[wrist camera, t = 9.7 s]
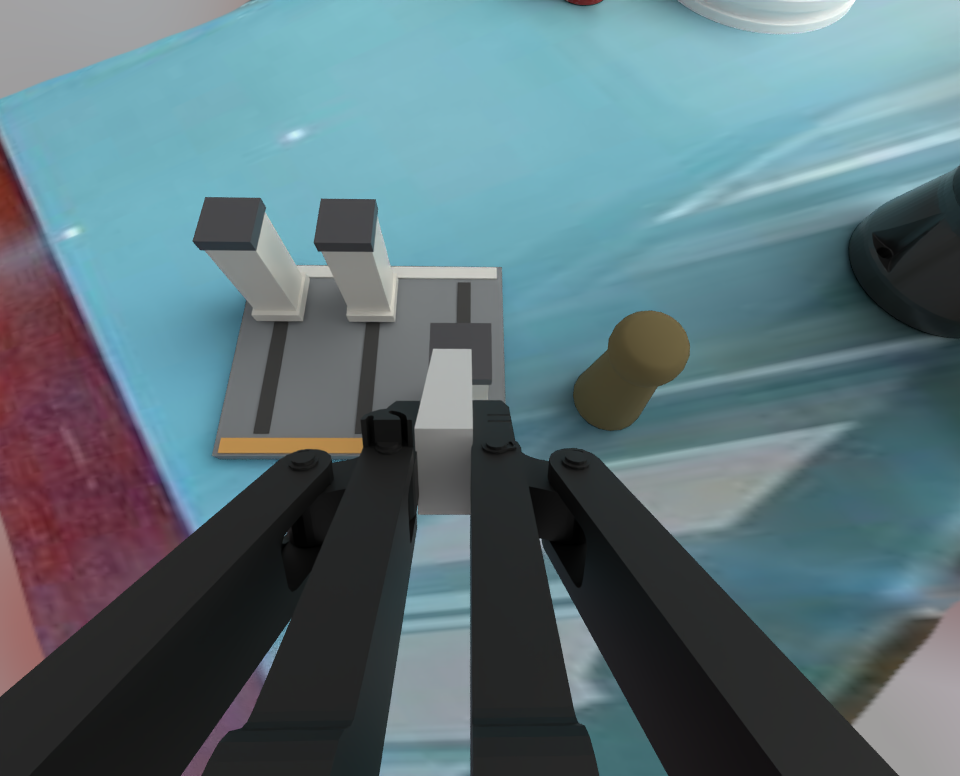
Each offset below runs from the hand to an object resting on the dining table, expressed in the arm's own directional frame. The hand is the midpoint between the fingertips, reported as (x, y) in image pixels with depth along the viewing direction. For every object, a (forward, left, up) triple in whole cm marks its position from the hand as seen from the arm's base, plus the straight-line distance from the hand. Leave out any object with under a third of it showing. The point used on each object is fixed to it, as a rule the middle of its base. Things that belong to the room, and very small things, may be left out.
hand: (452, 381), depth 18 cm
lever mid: (+16, -5, -18) cm, 25 cm away
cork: (-4, -14, -20) cm, 24 cm away
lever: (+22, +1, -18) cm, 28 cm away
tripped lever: (+4, -4, -18) cm, 18 cm away
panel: (+13, -2, -19) cm, 23 cm away
